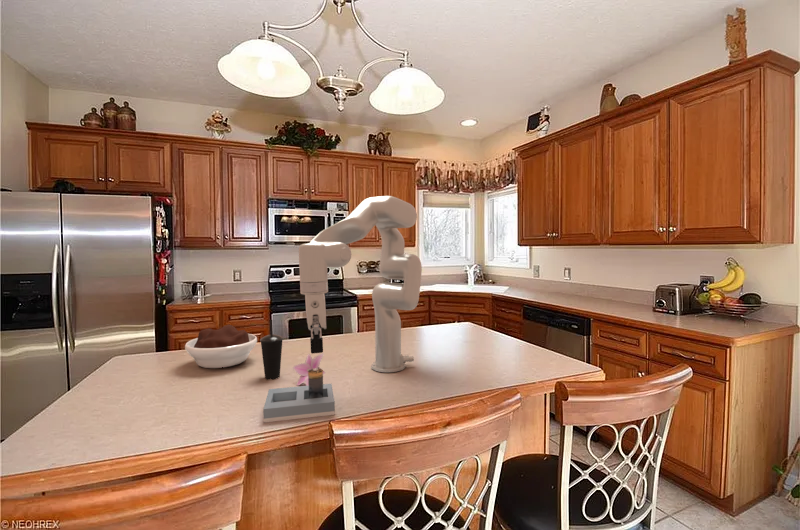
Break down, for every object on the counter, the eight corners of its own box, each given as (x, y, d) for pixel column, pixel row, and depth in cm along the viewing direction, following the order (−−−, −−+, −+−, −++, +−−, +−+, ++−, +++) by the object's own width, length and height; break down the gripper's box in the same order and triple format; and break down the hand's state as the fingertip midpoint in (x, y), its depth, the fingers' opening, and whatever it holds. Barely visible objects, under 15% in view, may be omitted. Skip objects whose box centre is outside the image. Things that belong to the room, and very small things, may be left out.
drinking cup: (276, 381, 125) (275, 322, 124) (256, 380, 127) (254, 321, 126) (288, 374, 133) (286, 318, 132) (268, 372, 134) (267, 317, 133)
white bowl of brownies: (240, 375, 132) (239, 333, 131) (170, 375, 132) (169, 333, 132) (267, 355, 157) (266, 319, 156) (208, 355, 157) (207, 319, 156)
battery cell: (323, 398, 108) (322, 366, 108) (323, 404, 104) (323, 370, 104) (308, 400, 107) (308, 367, 107) (308, 406, 103) (308, 371, 103)
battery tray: (331, 394, 114) (331, 383, 114) (334, 414, 100) (334, 401, 100) (269, 400, 110) (269, 389, 109) (263, 422, 96) (263, 409, 96)
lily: (292, 382, 127) (283, 362, 123) (323, 364, 133) (315, 344, 128) (307, 404, 119) (298, 383, 114) (339, 383, 124) (331, 362, 119)
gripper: (329, 290, 97) (332, 355, 98) (326, 283, 114) (328, 338, 115) (299, 292, 95) (302, 358, 96) (300, 284, 112) (303, 340, 113)
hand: (316, 347), depth 106 cm, fingers open, 9 cm apart
